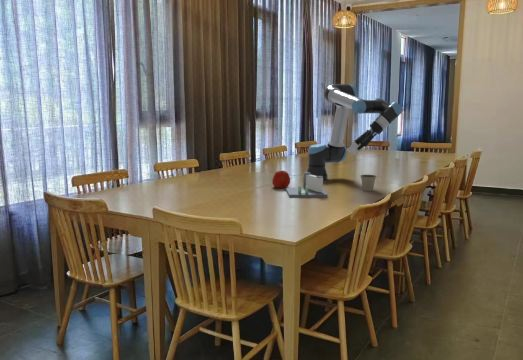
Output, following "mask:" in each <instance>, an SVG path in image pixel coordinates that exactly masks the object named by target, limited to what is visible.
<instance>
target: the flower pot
mask: <svg viewBox="0 0 523 360" xmlns="http://www.w3.org/2000/svg"><path fill="white" fill-rule="evenodd" d="M359 176H360V179H361V186H362V191H365V192H371V191H372V192H373V191H374V189H375V182H376V178H377V175H375V174H361V175H359Z"/></svg>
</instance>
